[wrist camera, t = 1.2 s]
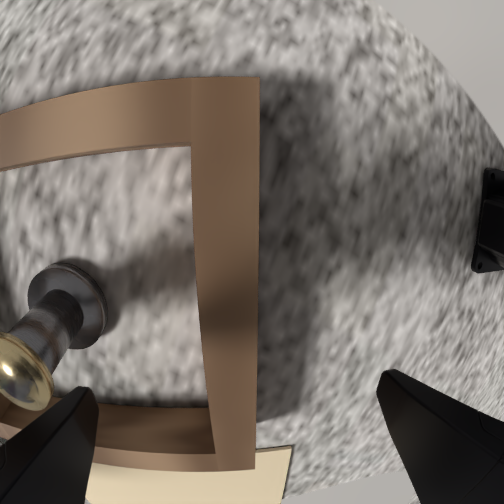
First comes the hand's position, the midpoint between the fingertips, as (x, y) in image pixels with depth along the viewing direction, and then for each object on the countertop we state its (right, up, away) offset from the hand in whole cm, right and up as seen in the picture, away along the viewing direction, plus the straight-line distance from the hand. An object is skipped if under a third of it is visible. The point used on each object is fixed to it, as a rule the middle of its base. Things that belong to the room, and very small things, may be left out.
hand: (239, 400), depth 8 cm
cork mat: (-7, -19, +12) cm, 24 cm away
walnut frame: (-9, +2, +5) cm, 10 cm away
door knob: (-9, +2, +5) cm, 10 cm away
